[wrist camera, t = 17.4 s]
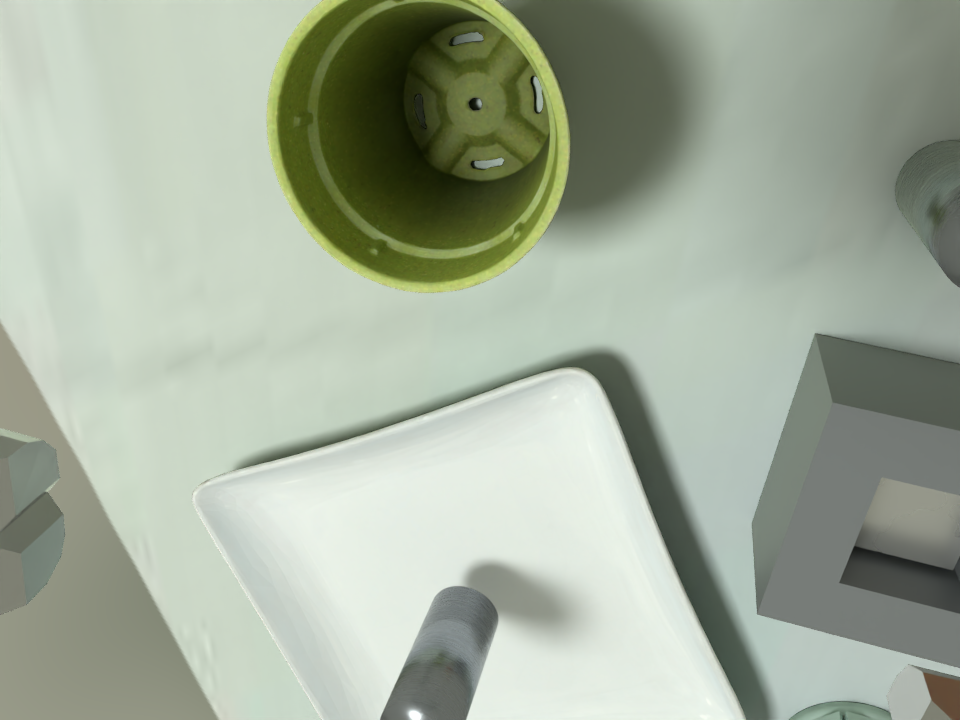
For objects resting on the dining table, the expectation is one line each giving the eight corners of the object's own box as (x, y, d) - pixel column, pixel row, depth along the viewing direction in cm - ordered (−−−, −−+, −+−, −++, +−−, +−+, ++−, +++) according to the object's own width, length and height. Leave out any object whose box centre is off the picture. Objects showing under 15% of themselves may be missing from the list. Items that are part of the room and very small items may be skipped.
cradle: (749, 530, 39) (754, 622, 33) (814, 333, 34) (832, 402, 29) (969, 586, 37) (1011, 690, 32) (1067, 387, 33) (1134, 469, 28)
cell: (435, 578, 40) (378, 702, 33) (503, 596, 40) (458, 727, 33) (427, 630, 42) (371, 760, 35) (493, 649, 41) (448, 784, 34)
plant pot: (582, -59, 31) (537, -64, 23) (620, 204, 34) (591, 276, 26) (340, -3, 33) (227, 9, 26) (397, 235, 37) (313, 308, 29)
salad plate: (599, 328, 37) (588, 362, 34) (760, 709, 43) (763, 766, 40) (212, 456, 45) (175, 492, 42) (394, 762, 51) (374, 813, 48)
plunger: (839, 527, 34) (842, 542, 33) (873, 441, 33) (877, 454, 32) (946, 554, 34) (953, 570, 33) (987, 467, 32) (994, 481, 31)
